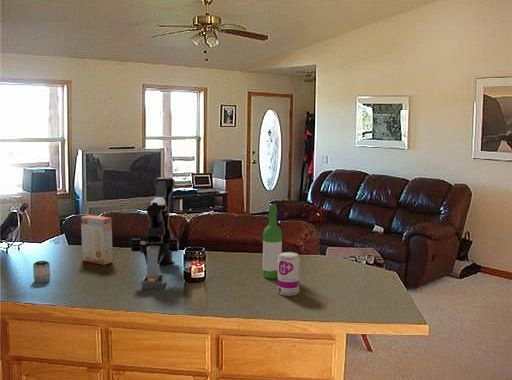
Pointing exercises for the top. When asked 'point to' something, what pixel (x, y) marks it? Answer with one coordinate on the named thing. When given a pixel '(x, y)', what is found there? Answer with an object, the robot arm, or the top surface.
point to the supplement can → (288, 273)
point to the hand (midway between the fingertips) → (152, 263)
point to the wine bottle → (271, 246)
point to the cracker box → (96, 239)
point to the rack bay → (153, 282)
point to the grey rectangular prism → (152, 262)
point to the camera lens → (41, 271)
